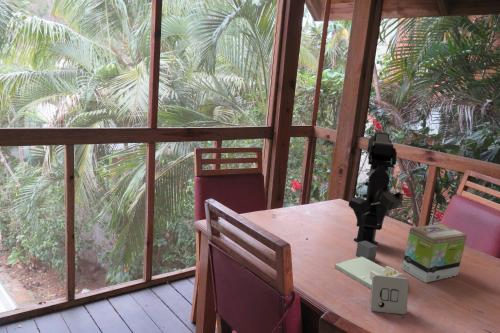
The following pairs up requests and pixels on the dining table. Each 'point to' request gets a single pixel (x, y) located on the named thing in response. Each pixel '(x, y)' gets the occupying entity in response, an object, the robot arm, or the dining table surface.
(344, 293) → the dining table surface
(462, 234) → the tea box
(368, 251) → the plug
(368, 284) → the board
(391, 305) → the electrical switch
